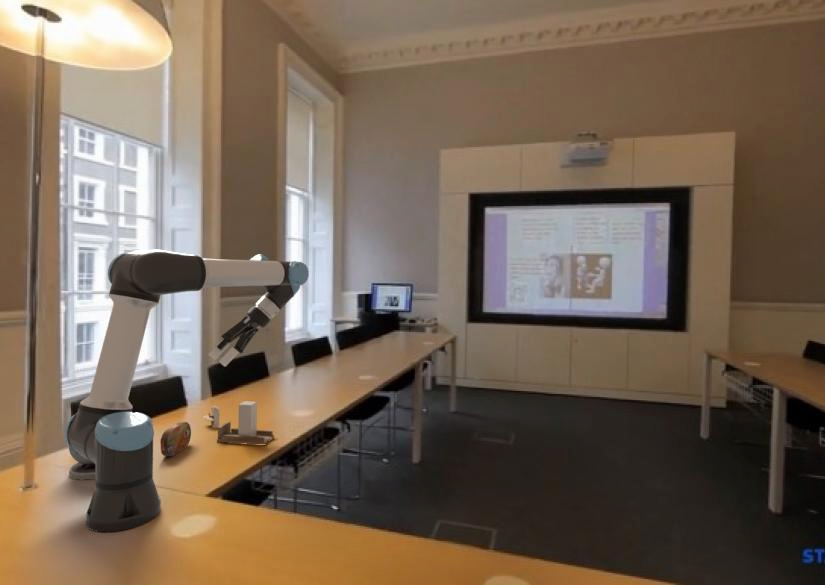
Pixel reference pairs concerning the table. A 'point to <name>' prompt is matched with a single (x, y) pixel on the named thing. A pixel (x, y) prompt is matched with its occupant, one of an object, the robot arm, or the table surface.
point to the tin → (175, 439)
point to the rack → (232, 436)
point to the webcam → (82, 468)
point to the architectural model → (213, 416)
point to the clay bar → (247, 419)
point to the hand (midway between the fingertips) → (216, 361)
